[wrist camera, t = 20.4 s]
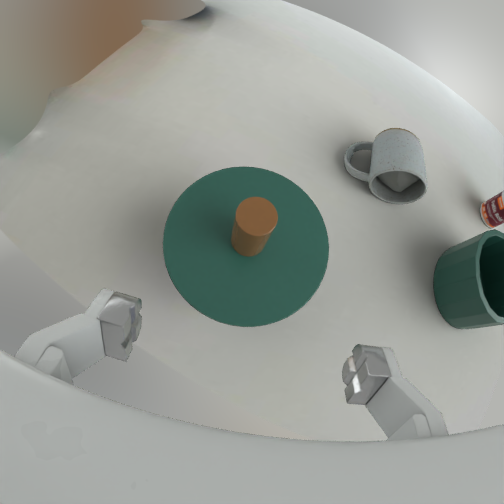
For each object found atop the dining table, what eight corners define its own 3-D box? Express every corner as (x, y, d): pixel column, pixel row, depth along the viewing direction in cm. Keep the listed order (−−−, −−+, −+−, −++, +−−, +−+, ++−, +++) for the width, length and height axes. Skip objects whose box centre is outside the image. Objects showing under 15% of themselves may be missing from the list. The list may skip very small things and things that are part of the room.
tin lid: (311, 339, 23) (343, 340, 17) (147, 306, 22) (125, 296, 16) (330, 193, 27) (358, 157, 21) (189, 161, 26) (184, 116, 20)
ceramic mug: (406, 163, 40) (433, 135, 33) (407, 210, 38) (438, 186, 31) (343, 139, 40) (363, 105, 33) (338, 186, 38) (362, 154, 30)
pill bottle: (475, 208, 41) (508, 188, 33) (486, 200, 42) (517, 181, 34) (487, 233, 40) (521, 216, 32) (498, 223, 41) (529, 206, 33)
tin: (482, 331, 35) (523, 326, 27) (430, 324, 34) (474, 318, 26) (484, 257, 38) (521, 242, 30) (433, 239, 38) (473, 218, 30)
